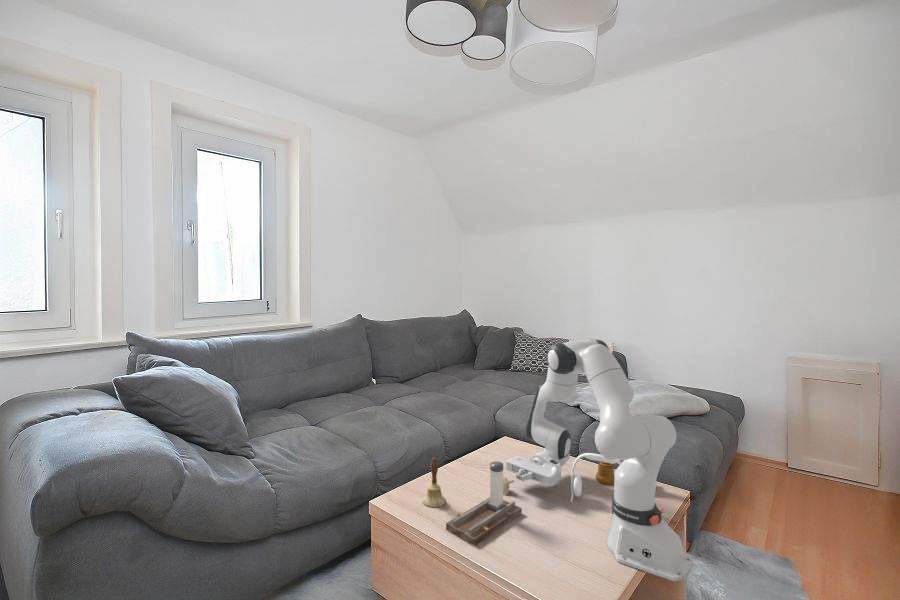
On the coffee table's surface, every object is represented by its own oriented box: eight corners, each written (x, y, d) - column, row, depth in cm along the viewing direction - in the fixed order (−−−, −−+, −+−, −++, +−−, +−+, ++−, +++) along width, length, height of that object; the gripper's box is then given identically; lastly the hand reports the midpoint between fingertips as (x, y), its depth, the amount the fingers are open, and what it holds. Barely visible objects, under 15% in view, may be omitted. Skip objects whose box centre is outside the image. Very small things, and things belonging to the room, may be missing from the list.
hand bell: (450, 500, 156) (450, 456, 155) (435, 510, 149) (434, 464, 148) (433, 492, 161) (433, 450, 160) (417, 502, 154) (417, 458, 153)
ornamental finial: (599, 474, 175) (618, 479, 170) (593, 481, 169) (612, 487, 165) (599, 455, 174) (618, 460, 170) (593, 461, 168) (613, 467, 164)
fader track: (521, 513, 147) (521, 503, 147) (474, 545, 130) (474, 534, 130) (493, 500, 155) (493, 491, 155) (446, 529, 138) (446, 518, 138)
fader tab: (506, 507, 146) (506, 464, 145) (498, 512, 143) (498, 468, 142) (495, 501, 150) (495, 460, 149) (486, 506, 147) (486, 464, 146)
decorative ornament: (498, 485, 166) (498, 471, 166) (515, 493, 160) (515, 479, 160) (491, 489, 164) (491, 475, 163) (508, 497, 158) (508, 483, 157)
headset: (630, 506, 152) (632, 456, 150) (629, 516, 145) (630, 464, 144) (572, 493, 160) (572, 446, 159) (568, 502, 154) (569, 453, 153)
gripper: (518, 449, 172) (496, 460, 163) (564, 465, 158) (543, 478, 148) (518, 464, 173) (496, 476, 163) (564, 482, 158) (543, 496, 149)
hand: (519, 477), depth 155 cm, fingers closed
